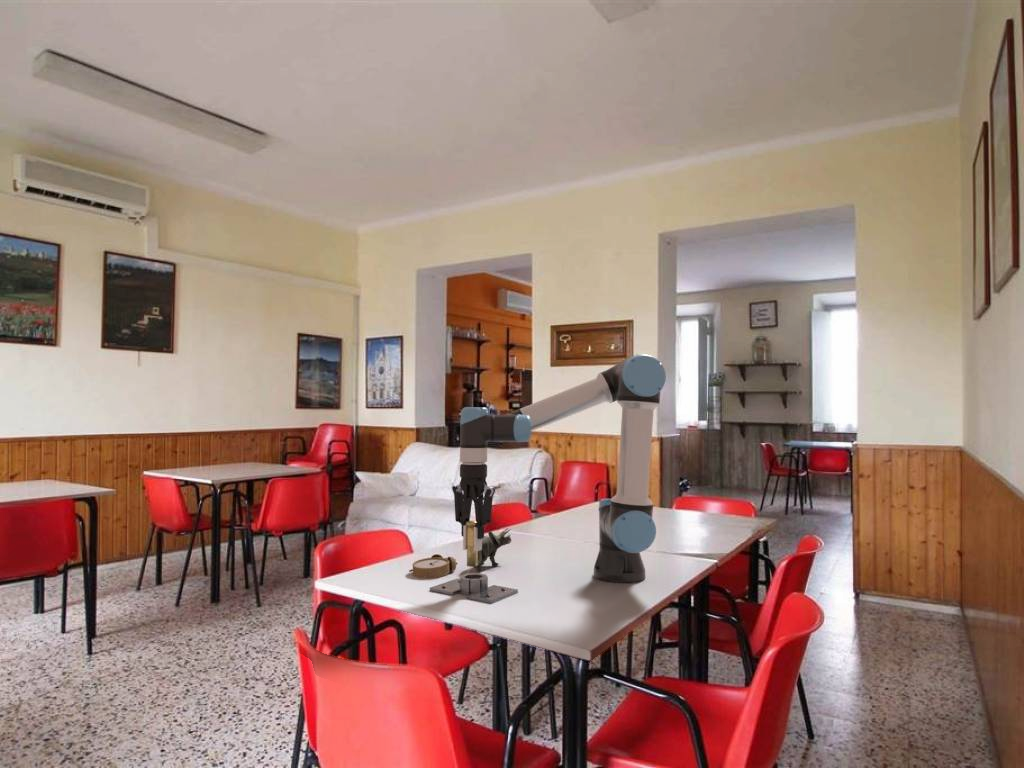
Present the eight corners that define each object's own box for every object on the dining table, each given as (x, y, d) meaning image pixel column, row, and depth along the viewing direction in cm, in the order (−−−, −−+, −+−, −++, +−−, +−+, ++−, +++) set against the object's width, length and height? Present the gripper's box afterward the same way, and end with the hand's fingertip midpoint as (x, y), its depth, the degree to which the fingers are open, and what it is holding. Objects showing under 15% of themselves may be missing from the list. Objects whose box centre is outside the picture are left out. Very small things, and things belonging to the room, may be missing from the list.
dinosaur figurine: (474, 577, 187) (474, 538, 188) (451, 573, 192) (451, 536, 192) (513, 562, 206) (513, 527, 207) (491, 559, 210) (491, 525, 211)
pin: (482, 565, 173) (482, 521, 173) (473, 567, 170) (473, 523, 170) (471, 563, 175) (471, 520, 176) (462, 565, 172) (463, 521, 172)
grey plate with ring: (457, 581, 183) (457, 567, 183) (517, 592, 171) (517, 577, 171) (429, 590, 173) (429, 575, 173) (491, 603, 161) (491, 587, 161)
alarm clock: (403, 565, 191) (438, 548, 203) (405, 581, 191) (440, 563, 203) (429, 571, 184) (464, 552, 196) (431, 587, 184) (466, 568, 196)
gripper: (505, 464, 172) (504, 551, 171) (459, 461, 181) (458, 543, 180) (488, 465, 166) (487, 556, 165) (442, 462, 175) (441, 548, 174)
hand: (472, 549), depth 173 cm, fingers closed on pin, 3 cm apart
